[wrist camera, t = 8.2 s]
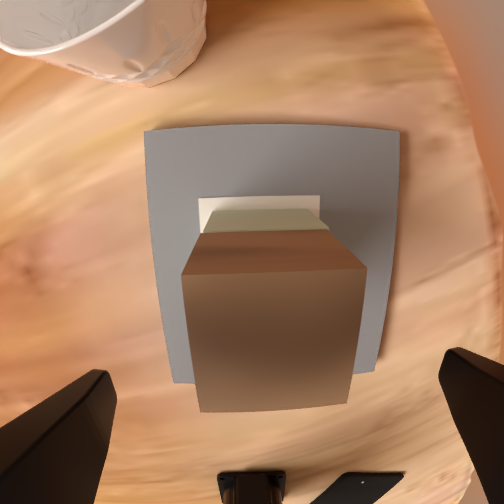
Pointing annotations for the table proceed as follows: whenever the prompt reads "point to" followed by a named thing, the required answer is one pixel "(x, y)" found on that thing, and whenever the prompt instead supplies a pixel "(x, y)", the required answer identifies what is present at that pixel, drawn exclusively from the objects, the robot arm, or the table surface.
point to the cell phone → (358, 488)
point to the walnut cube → (272, 319)
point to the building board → (272, 204)
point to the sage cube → (263, 220)
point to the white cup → (107, 36)
